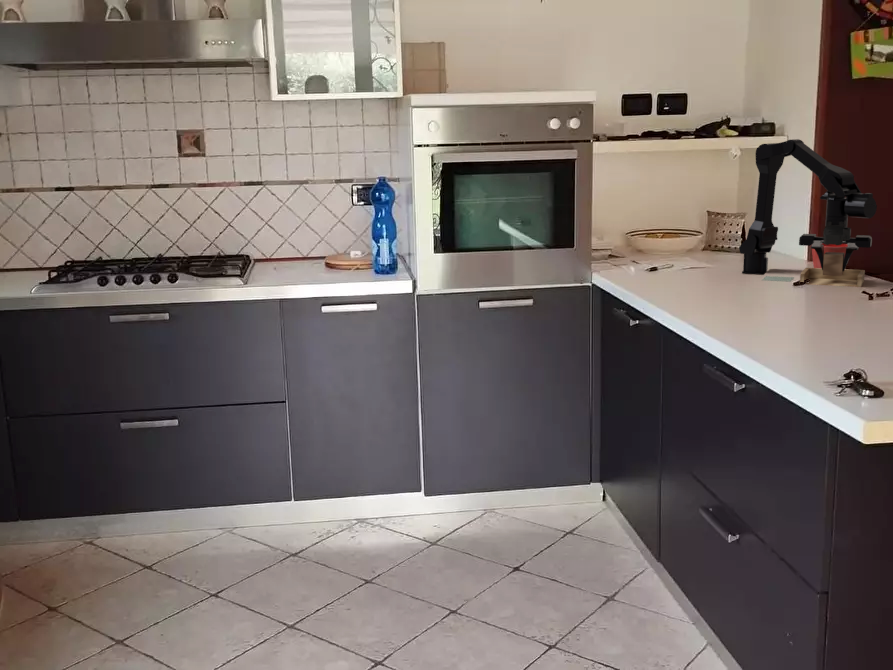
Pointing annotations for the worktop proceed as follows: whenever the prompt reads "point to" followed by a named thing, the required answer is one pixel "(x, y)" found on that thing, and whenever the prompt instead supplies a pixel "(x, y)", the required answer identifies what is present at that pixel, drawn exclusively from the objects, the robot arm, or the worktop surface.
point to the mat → (777, 278)
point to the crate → (833, 277)
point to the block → (833, 263)
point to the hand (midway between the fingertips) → (833, 270)
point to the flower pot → (828, 248)
